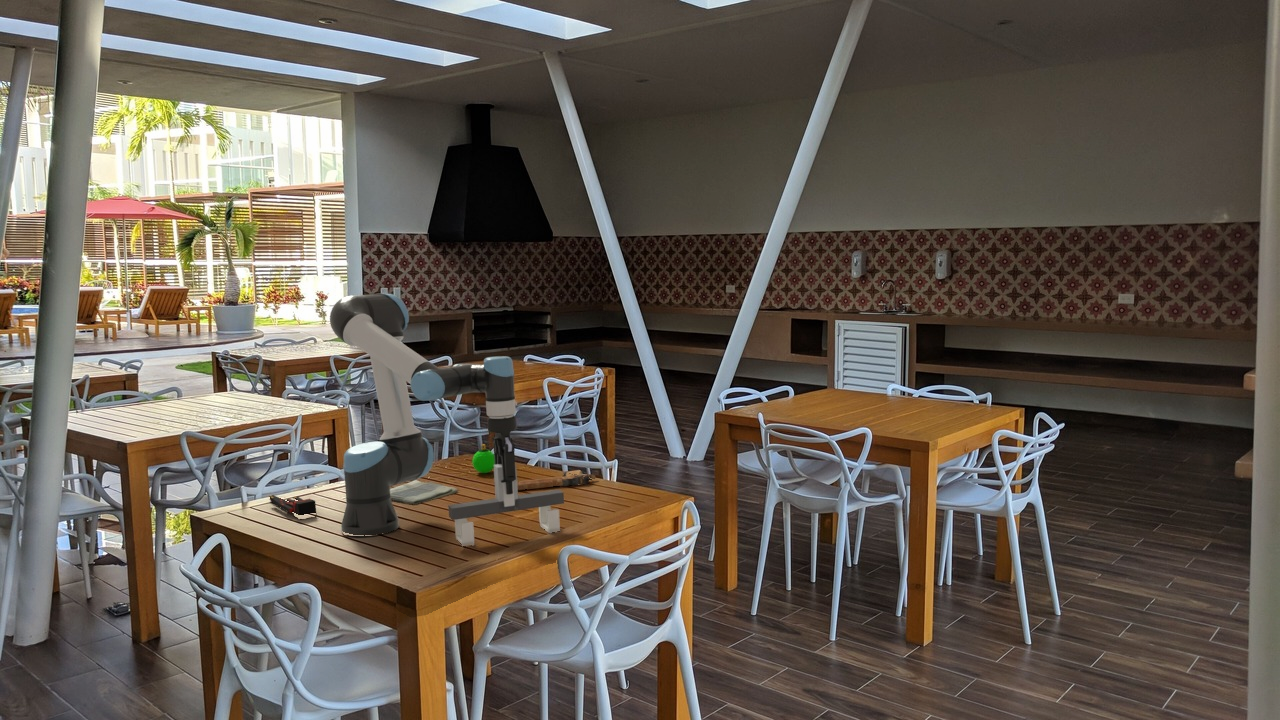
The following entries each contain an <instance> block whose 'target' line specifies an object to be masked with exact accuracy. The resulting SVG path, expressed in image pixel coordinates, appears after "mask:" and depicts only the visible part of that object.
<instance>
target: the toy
mask: <svg viewBox="0 0 1280 720" xmlns="http://www.w3.org/2000/svg"><path fill="white" fill-rule="evenodd" d="M269 497H270V499H269V500H270V502H272V503H273V504H274V505H276V506H277V507H278V506H279V507H278V508H280V507H281V508H280V509H282V508H283V509H284V510H283V509H282V510H283V511H285V510H286V512H287V511H288V512H287V513H290V514H292V513H291V512H294V513H296V514H298V515H304V514H310V513H316V514H317V508H316V507H317V505H316V500H314V499H312V498H307V499H302V498H301V497H299V496H294V497H293V499H292V498H288V499H287V501H289V502H287V501H285V500H283V499H281V498H279V497H280V496H277V495H274V494H270V495H268V498H269ZM294 498H295V499H296V500H298V501H295V500H294Z"/></svg>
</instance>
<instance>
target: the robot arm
mask: <svg viewBox="0 0 1280 720" xmlns="http://www.w3.org/2000/svg"><path fill="white" fill-rule="evenodd" d="M409 321H410V316H409V311H408V308H407V306H406V304H405V302H404V301H403V300H402V299H401V298H399V297H398V296H397V295H396V294H393V293H383V292H380V293H371V294H357V295H347V296H344V297H342V298H340V299H339V300H338V301H336V303H335V304H333V306H332V308H331V311H330V314H329V322H330V328H331V330H332V332H333V334H335V336H337V338H338V339H339V340H341V341H342V342H344V344H347V345H348V346H350V347H357V348H358V349H360V350H361V351H363V352H364V353H366V354H367V355H369V357H370V363H371V368H372V369H371V370H372V373H373V380H374V384H375V385H374V386H375V390H376V395H377V396H376V397H377V400H378V401H377V402H378V407H379V412H380V419H381V424H382V429H383V432H382V435H381V436H380V437H379V441H369V442H362V443H359V444H357V445H354V446H351V447H350V448H348V449H347V450H346V451H345V452H344V454H343V465H342V467H343V474H344V487H345V488H344V489H345V498H346V505H345V509H344V513H343V517H342V522H341V525H340V526H341V532H342V531H343V532H345V533H349V534H353V535H364V536H365V535H376V534H382V533H386V534H388V533H387V532H389V533H391V531H392V532H394V531H396V530H398V528H399V527H400V523H399V521H400V520H399V517H398V514H397V512H396V510H395V507H394V504H393V501H391V498H390V489H391V487H394V486H397V485H400V484H401V485H402V484H403V483H409V482H412V481H414V480H419V479H420V478H423V477H425V476H426V475H428V473H430V471H431V469H432V467H433V464H434V462H435V461H434V458H435V455H434V454H435V453H434V448H433V446H432V443H430V441H429V440H428V439H427V438H425V437H424V436H423V435H422V430H420V429H419V428H417V427H416V426H415V422H414V415H413V412H412V407H411V406H412V405H411V400H410V396H409V389H408V384H410V389H411V392H412V393H413V397H415V398H416V399H417V400H419V401H421V402H425V401H436V400H440V399H444V398H451V397H455V396H460V395H464V394H466V395H467V394H471V393H478V394H479V393H480V394H481V393H482V394H483V393H485V406H486V407H485V409H486V416H488V418H487V419H486V422H487V431H488V432H489V433H492V434H495V435H494V437H492V438H491V440H492V448H493V454H494V462H495V465H497V464H502V470H503V480H501V483H503V498H504V507H508V506H514V505H515V500H514V483H513V481H514V480H516V474H515V465H516V458H515V455H516V454H515V447H516V444H515V442H514V441H513V438H512V437H511V433H512V432H515V431H516V430H517V429H518V424H517V416H516V415H515V414H516V413H517V410H516V406H518V402H517V401H516V393H515V371H514V364H513V363H514V362H513V359H512V358H511V357H510V356H506V355H505V356H500V355H498V356H488V357H485V358H484V359H483V364H479V363H477V364H476V363H468V362H464V363H456V364H454V365H453V366H449V367H448V366H447V367H442V368H441V367H438V366H437V365H435V364H433V363H432V362H430V361H429V360H427V359H426V358H425V357H423V355H420V354H419V353H417V352H416V351H415V350H413V349H412V348H410V347H408V346H407V345H406V344H404V343H403V342H402V341H403V340H404V331H405V330H406V329H407V327H408V324H409ZM407 383H408V384H407ZM393 530H394V531H393ZM382 535H383V534H382Z"/></svg>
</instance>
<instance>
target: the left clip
mask: <svg viewBox="0 0 1280 720" xmlns="http://www.w3.org/2000/svg"><path fill="white" fill-rule="evenodd" d="M454 530H455V531H454V532H455V540H456V541H457V540H458V541H459V542H460V543H461V544H462V545H461V544H460V543H459V542H458V541H457V542H458V543H459V544H460V545H461V546H462V547H463V546H466V545H472V546H475V531H474V521H468V518H463V519H456V520H454ZM466 547H467V546H466Z"/></svg>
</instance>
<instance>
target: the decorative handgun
mask: <svg viewBox="0 0 1280 720" xmlns="http://www.w3.org/2000/svg"><path fill="white" fill-rule="evenodd" d="M564 472H565V473H563V474H564V475H561V476H555V477H545V478H537V479H527V480H519V481H518V480H517V487H518V491H524V490H525V489H527V490H534V489H536V490H537V489H543V488H554V487H553V486H560V487H569V485H572V486H574V485H577V486H579V485H578V484H586V485H588V484H587V483H589V482H590V481H589V480H591V481H593V480H592V479H594V480H595V479H596V474H592V473H591V474H588V473H584V474H583V471H581V470H580V469H576V470H565V471H564ZM569 473H571V474H569ZM572 474H573V475H572ZM574 474H577V475H581V476H577V475H574ZM583 476H585V477H583ZM589 477H590V478H592V479H590V478H589Z"/></svg>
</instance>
